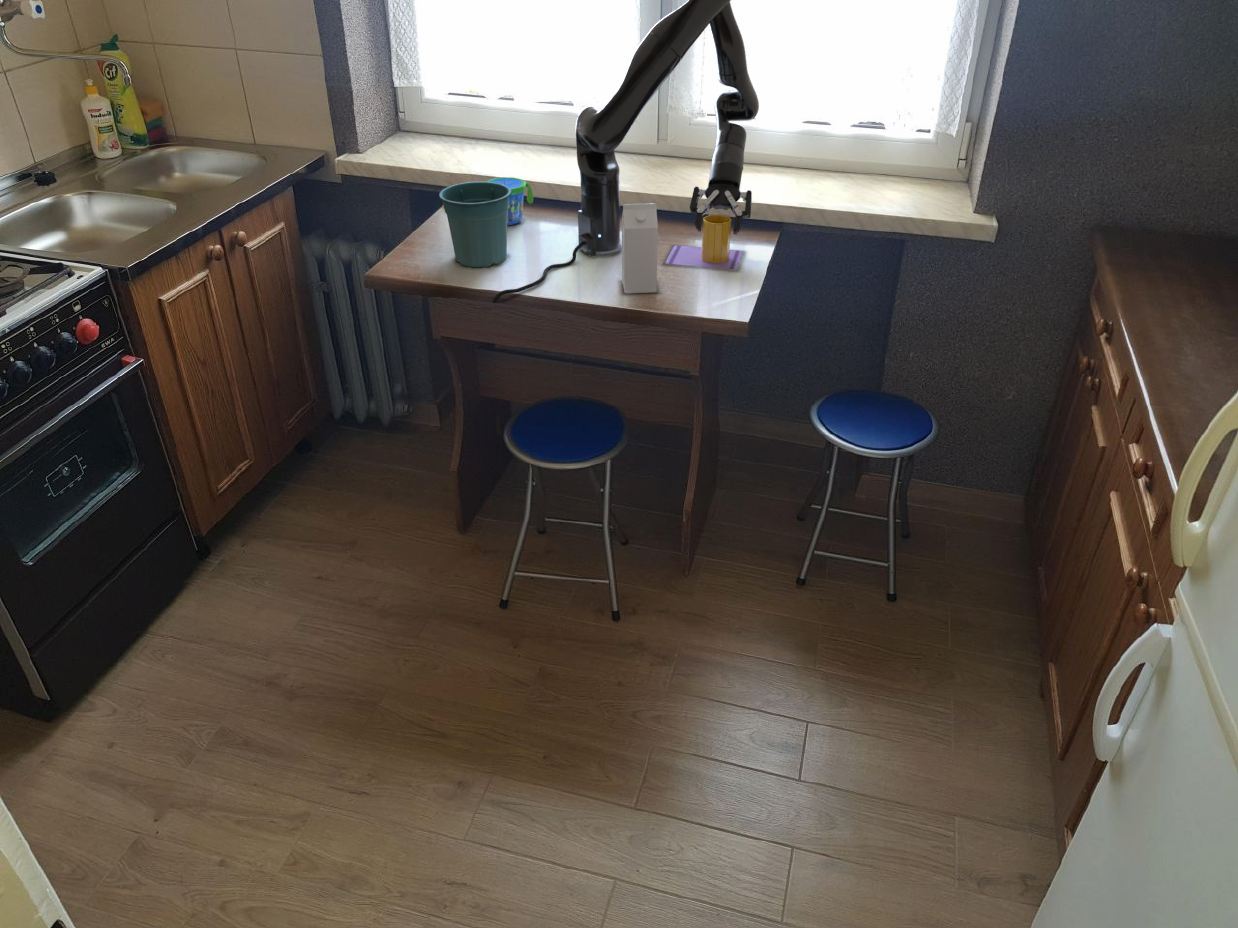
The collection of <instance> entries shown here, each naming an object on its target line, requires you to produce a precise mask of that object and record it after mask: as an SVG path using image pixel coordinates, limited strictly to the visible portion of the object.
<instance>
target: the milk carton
mask: <svg viewBox="0 0 1238 928" xmlns="http://www.w3.org/2000/svg"><path fill="white" fill-rule="evenodd" d="M657 211H658V210H657V202H652V203H650V202H648V203H623V204H622V213H621V282H622V287H623V291H624V294H649V293H657V290H658V289H657V288H658V286H657V285H658V244H659V243H658V242H659V239H658V237H659V223H658V213H657Z"/></svg>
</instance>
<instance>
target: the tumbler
mask: <svg viewBox="0 0 1238 928" xmlns="http://www.w3.org/2000/svg"><path fill="white" fill-rule="evenodd" d="M731 230H732V219H731V217H730V216H728V215H725V214H708V215H705V216H703V222H702V230H701V232H702V233H701V234H702V235H701V248H702V253H701V258H702V260H704V261H706V262H710V263H722V262H726V261H727V260H728V259H729V250H731V249H730V248H731V247H730V246H731V232H732V231H731Z"/></svg>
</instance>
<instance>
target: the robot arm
mask: <svg viewBox="0 0 1238 928" xmlns="http://www.w3.org/2000/svg"><path fill="white" fill-rule="evenodd" d="M731 1H732V0H687V1H686V2H685V3H683V4H682V5H681V6H679V7H678V8H676V9H675V10H673V11H672V12H670V13H669V14H667V15H665V16H664V17H663V18H662V19H660V20H659V21H657V23H655V24H654V26H652V28H651V29H650V30H649V31H648V33H647V34H646V35H645V37H643V38H642V41H641V42H640V43H639V44H638V46H637V47H636V48H635V51H634V52H633V54H632V56H631V59H630V61H629V64H628V67H627V70H626V72H625V75H624V78H623V80H622V82H621V84H620V86H619V88H618V89H617V91H616V92H615V93H614V95H613V96H612V97H611V98H610V100H609V101H608V102H606V104H605V105H604V106H603V105H601V104H590V105H587V106H586V107H584V108H583V109H582V110H581V111H580V113H579V114H578V116H577V118H576V122H575V149H576V150H575V151H576V162H577V167H578V169H579V177H580V179H579V180H580V210H578V211H577V233H578V234H577V235H578V245H576V247H574V249H573V251H572V257H571V259H570V260H569V261H567V262H563V263H555V264H551V265H548V266H546V268H544V270H543V272H542V276H541V277H540V278H539V279H537V280H535V281H533V282H530V283H529V284H526V285H523V286H520V287H517V288H510V289H504V290H501V291H499V292H497V294H496V295H495V296H494V297H493V298H492V301H491V302H492V303H496V302H497V301H498V300H499V299H500V298H501V297H502V296H504V295H506V294H507V295H508V294H516V293H520V292H522V291H525V290H528V289H531V288H533V287H536V286H538V285H540V284H541V283H542V282H544V281H545V280H546V277H547V275H548V272H549V271H551V270H552V269H558V268H565V267H568V266H572V265H573V264H574V263H575V262H576V261H577V254H578V251H581V252H583V253H585V254H586V255H588V256H590V257H600V256H601V257H603V256H606V257H607V256H611V255H615V254H617V253H619V252H620V251H621V218H620V217H621V198H620V197H621V195H620V194H621V192H620V191H621V187H620V186H621V178H620V177H621V176H620V175H621V173H620V172H621V171H620V166H619V163H618V161H617V158H616V152H615V151H616V149H617V148H618V147H619V146H621V144H622V142H623V141H624V140H625V138H626V136H627V135H628V133H629V131H630V130H631V128H632V126H633V125H634V124H635V122H636V120H637V118H638V117H639V116H640V114H641V112H642V111H643V109H644V108H645V107H646V105H647V104H648V103H649V102H650V101H651V99H652V98H653V97H654V95H655V94H656V93H657V91H658V90H659V89H660V88H661V86H662V85H663V84H664V82H665V81H666V80H667V79H668V78H669V76H670V75H672V73H673V71H674V70H675V69H676V68H677V66H679V64H680V62H681V61H682V60H683V58H684V57H685V56H686V54H687V53H688V51H689V50H690V49H691V47H692V46H693V45H694V44H695V42H697V40H698V39H699V37H700V36H701V35H702V34H703V32H704V31H705V30H706V28H707V27H708V26H709V30H710V35H711V39H712V45H713V46H712V47H713V51H714V60H715V66H716V75H717V80H718V82H719V83H720V84H721V85H722V86H726V87H730V88H733V89H731V90H722V91H720V92H719V93H718V94H717V95H716V97H715V98H714V104H713V107H714V113H715V119H716V120H715V121H716V138H715V145H714V150H713V155H712V159H711V164H710V171H709V178H708V182H707V183H708V184H707V187H706V188H705V189H703V188H700V187H698V186H695V187H694V188H693V190H692V196H691V199H690V204H689V212H690V214H691V215H695V222H694V225H695V229H696V230H697V232H702V229H703V218H704V215H706V214H707V213H709V212H710V211H711V210H712V209H714V210H725V211H728V210H729V209H730V210H731V212H732V214H733V215H734V223H733V231H732V232H733V235H738V233H740V232H741V228H742V222H743V220H744V219H750V218H751V217H752V216H751V214H752V203H753V202H752V201H753V192H752V191H751V189H750V190H747V191H741V183H742V177H743V176H742V175H743V171H744V161H745V149H746V143H747V142H746V141H747V131H746V128H744V126H742V125H740V124H737V123H733V122H748V121H753V120H754V119H755V118H756V117H757V115H758V113H759V111H760V110H759V109H760V104H759V103H760V102H759V98H758V94H757V92H756V90H755V87H754V85H753V83H752V81H751V78H750V75H749V74H750V73H749V71H748V63H747V55H746V54H747V53H746V48H745V43H744V39H743V35H742V33H741V30H740V27H739V25H738V23H737V20H736V17H735V14H734V11H733V8H732V4H731ZM703 196H704V197H705V198H706V199H705V200H703V202H702V204H701V205H700V206H699V207H698V205H699V200H700V199H702V198H703ZM740 199H742V201H743V202H744V203H745V205H744V210H741V209H740V206H739V205H738V203H737V202H738V201H739V200H740ZM500 421H501V420H500V415H497V416H495V426H496V427H495V428H496V435H497V436H501V422H500Z"/></svg>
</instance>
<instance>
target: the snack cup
mask: <svg viewBox="0 0 1238 928" xmlns="http://www.w3.org/2000/svg"><path fill="white" fill-rule="evenodd" d="M485 182H495V183H500V184H504V185H506V186H508V187H509V188H510V189H511V193H510V195H509V208H508V210H507V227H508V226H513V225H517V224H518V223H519V224H520V223H521V222H522V219H523V213H524V211H523V210H524V200H525V199H524V196H525V192H526V189H527V193H526V202H527V203H528V204H529V205H531V204H533V202H534V193H533V189H532V186H531V185H530V184H529V183H528V182H526V181H525V180H523V179H522V178H519V177H513V176H512V177H511V176H507V177H506V176H505V177H503V176H502V177H495V178H491V179H488V180H487V181H485Z"/></svg>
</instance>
